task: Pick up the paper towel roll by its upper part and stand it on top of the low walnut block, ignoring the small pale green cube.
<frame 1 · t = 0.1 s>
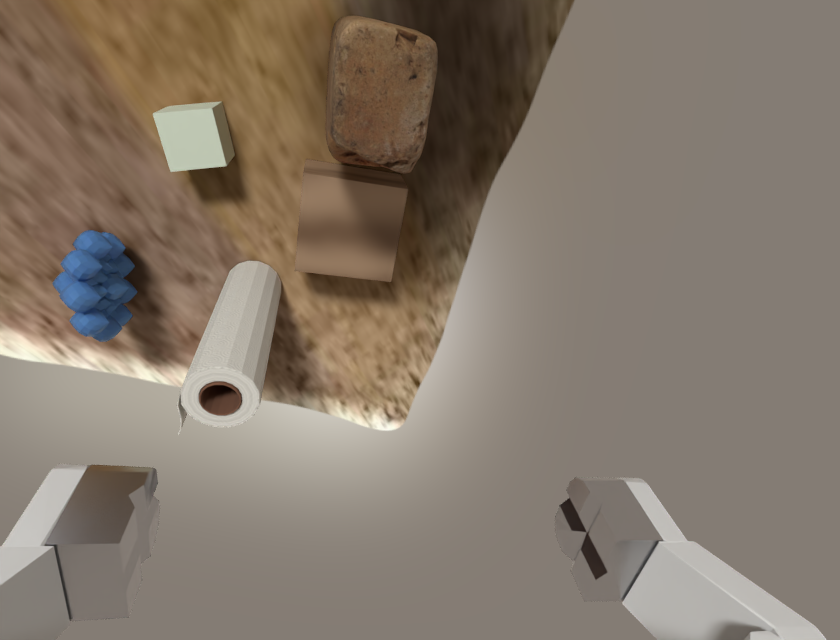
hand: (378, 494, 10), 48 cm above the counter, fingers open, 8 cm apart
paper towel roll: (249, 283, 58), on the counter
block: (365, 84, 50), on the counter
walnut block: (348, 212, 56), on the counter
grapes: (114, 260, 55), on the counter
green cube: (202, 131, 50), on the counter
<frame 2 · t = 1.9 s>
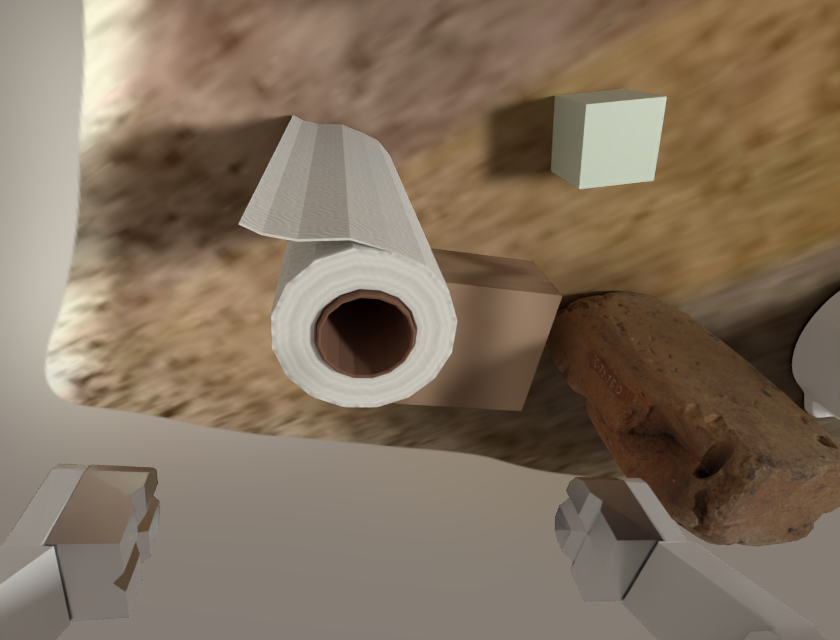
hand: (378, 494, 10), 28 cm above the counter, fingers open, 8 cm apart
paper towel roll: (348, 166, 35), on the counter
block: (600, 324, 44), on the counter
walnut block: (457, 311, 41), on the counter
green cube: (586, 130, 36), on the counter
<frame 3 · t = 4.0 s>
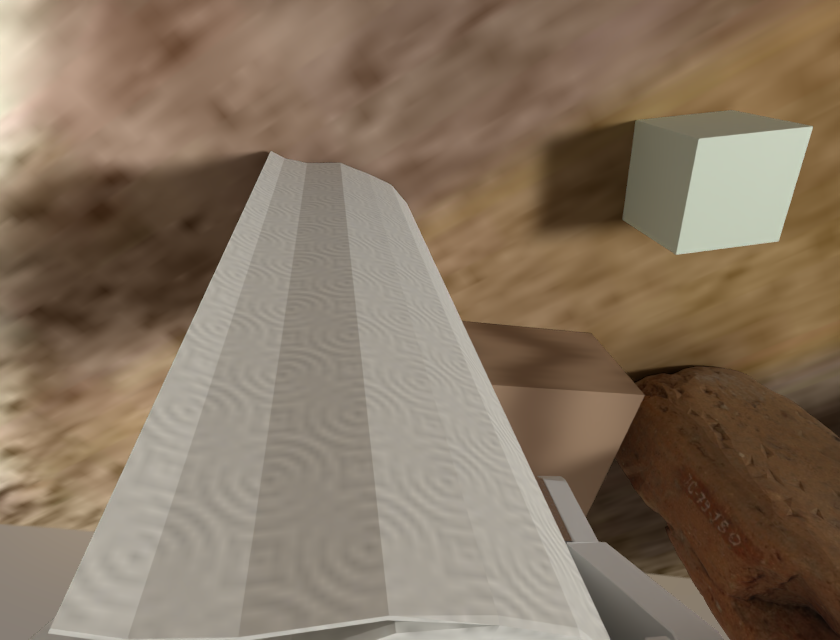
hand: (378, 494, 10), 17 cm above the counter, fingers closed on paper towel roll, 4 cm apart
paper towel roll: (349, 218, 25), on the counter, touching gripper
block: (670, 404, 35), on the counter
walnut block: (491, 395, 32), on the counter
green cube: (674, 166, 26), on the counter
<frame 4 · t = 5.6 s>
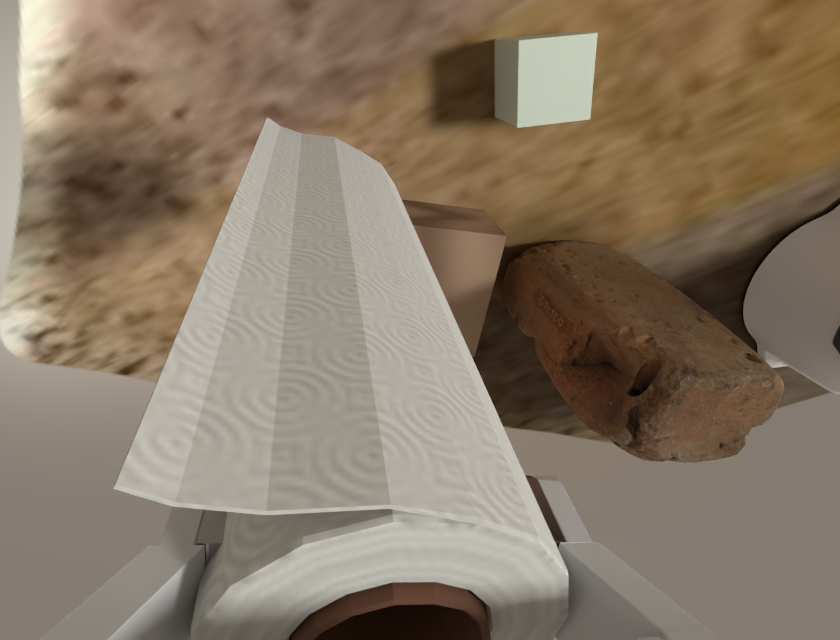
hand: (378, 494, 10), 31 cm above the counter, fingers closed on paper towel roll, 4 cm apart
paper towel roll: (337, 192, 26), point 12 cm above the counter, touching gripper
block: (554, 275, 45), on the counter
walnut block: (411, 262, 42), on the counter
green cube: (528, 75, 36), on the counter
when the fingers open (25 cm above the counter, at t = 7.6 s): paper towel roll stays where it is, resting on walnut block.
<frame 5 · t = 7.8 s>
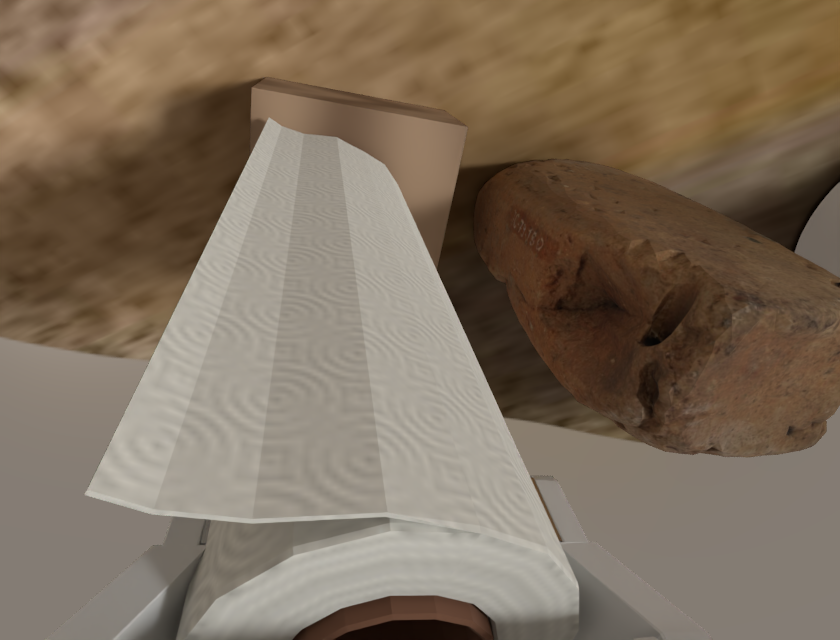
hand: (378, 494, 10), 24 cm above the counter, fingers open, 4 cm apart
paper towel roll: (340, 193, 25), point 6 cm above the counter, touching gripper, walnut block
block: (543, 211, 34), on the counter
walnut block: (348, 182, 31), on the counter
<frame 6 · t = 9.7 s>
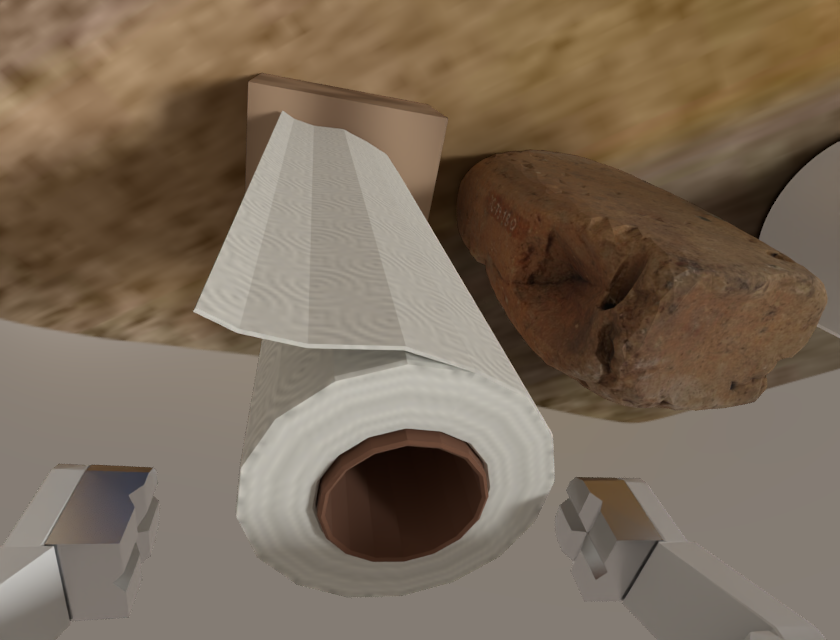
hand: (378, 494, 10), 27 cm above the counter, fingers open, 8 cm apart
paper towel roll: (345, 181, 28), point 6 cm above the counter, touching walnut block
block: (522, 199, 36), on the counter
walnut block: (338, 172, 33), on the counter
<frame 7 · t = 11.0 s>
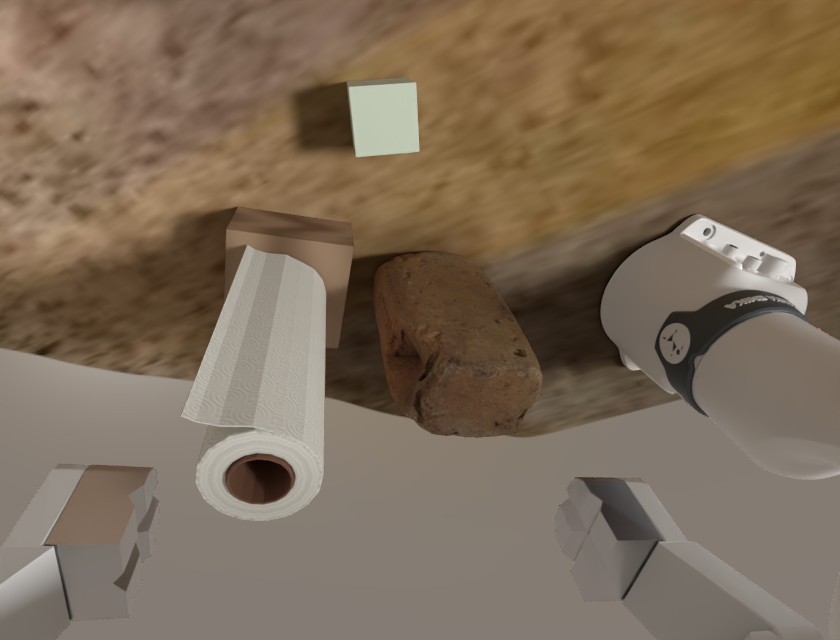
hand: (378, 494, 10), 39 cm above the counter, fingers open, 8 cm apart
paper towel roll: (289, 283, 43), point 6 cm above the counter, touching walnut block
block: (422, 281, 52), on the counter
walnut block: (290, 265, 48), on the counter
green cube: (379, 111, 43), on the counter
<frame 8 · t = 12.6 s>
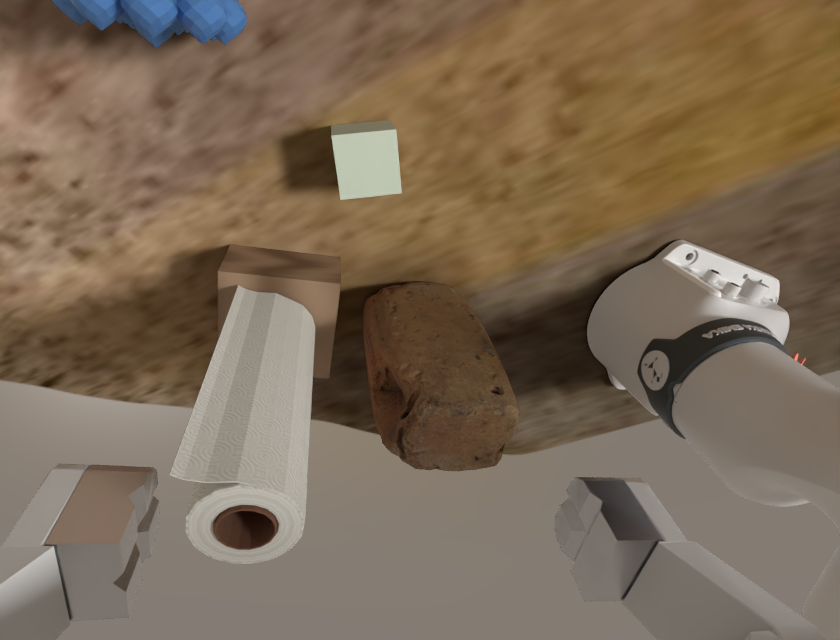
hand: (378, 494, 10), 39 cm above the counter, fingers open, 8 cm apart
paper towel roll: (280, 319, 45), point 6 cm above the counter, touching walnut block
block: (411, 309, 53), on the counter
walnut block: (283, 298, 50), on the counter
green cube: (364, 152, 45), on the counter
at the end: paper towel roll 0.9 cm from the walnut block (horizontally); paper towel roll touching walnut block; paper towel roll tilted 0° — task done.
